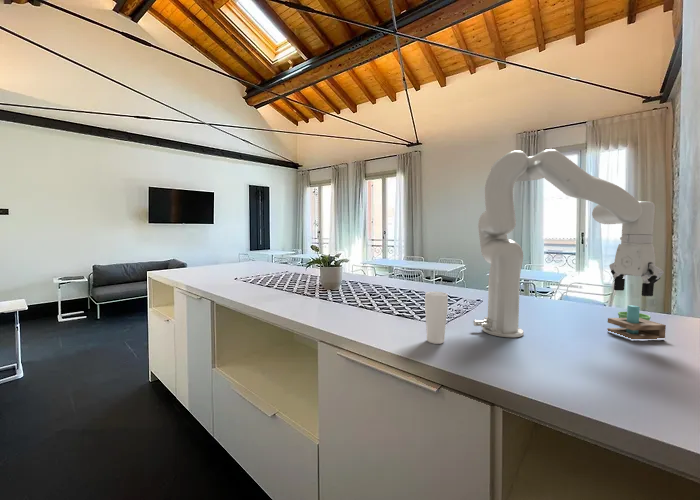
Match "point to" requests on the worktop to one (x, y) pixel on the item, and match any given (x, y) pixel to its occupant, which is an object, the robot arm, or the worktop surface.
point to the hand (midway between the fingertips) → (632, 293)
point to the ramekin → (643, 316)
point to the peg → (632, 317)
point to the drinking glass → (436, 316)
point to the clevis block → (638, 328)
